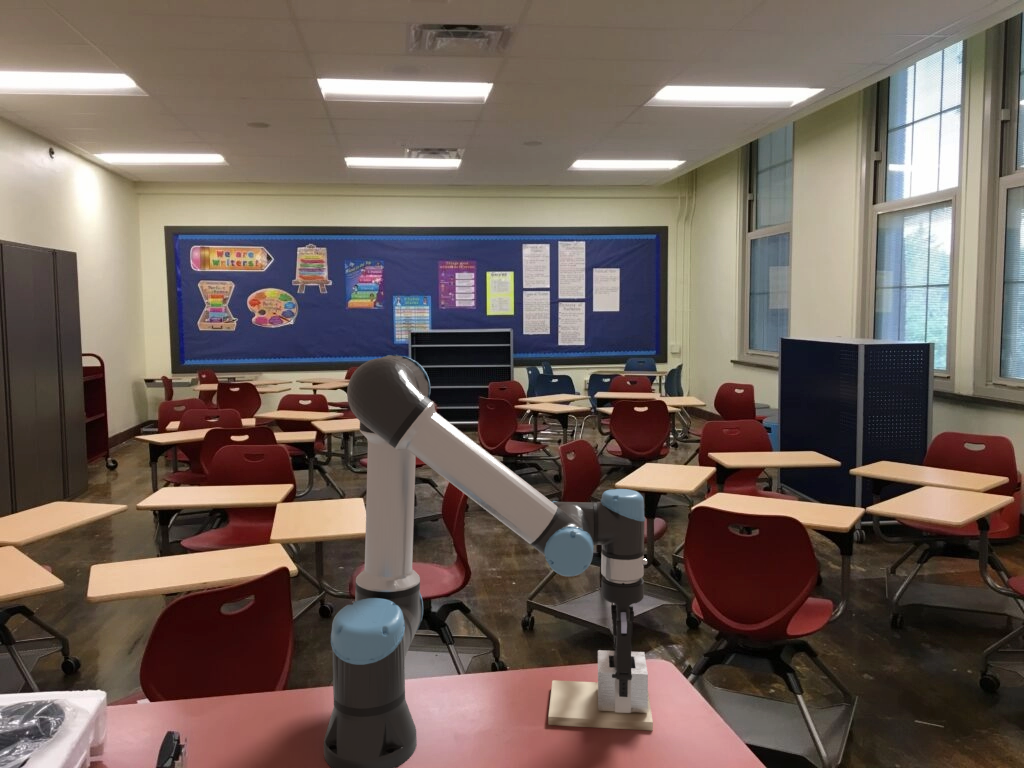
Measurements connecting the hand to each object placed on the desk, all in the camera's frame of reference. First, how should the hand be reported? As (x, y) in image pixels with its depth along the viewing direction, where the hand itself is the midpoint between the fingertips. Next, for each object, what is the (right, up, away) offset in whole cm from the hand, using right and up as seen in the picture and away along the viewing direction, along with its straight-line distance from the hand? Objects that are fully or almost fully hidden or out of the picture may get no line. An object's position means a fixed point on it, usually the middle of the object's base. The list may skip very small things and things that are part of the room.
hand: (621, 697), depth 131 cm
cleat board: (-4, -2, +1) cm, 5 cm away
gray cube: (0, 0, 0) cm, 0 cm away
